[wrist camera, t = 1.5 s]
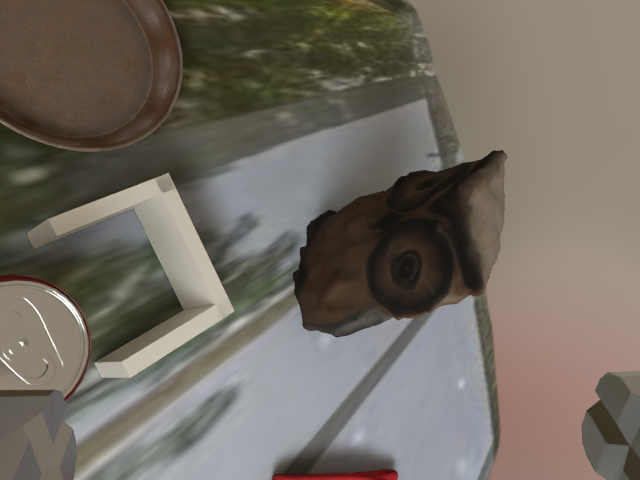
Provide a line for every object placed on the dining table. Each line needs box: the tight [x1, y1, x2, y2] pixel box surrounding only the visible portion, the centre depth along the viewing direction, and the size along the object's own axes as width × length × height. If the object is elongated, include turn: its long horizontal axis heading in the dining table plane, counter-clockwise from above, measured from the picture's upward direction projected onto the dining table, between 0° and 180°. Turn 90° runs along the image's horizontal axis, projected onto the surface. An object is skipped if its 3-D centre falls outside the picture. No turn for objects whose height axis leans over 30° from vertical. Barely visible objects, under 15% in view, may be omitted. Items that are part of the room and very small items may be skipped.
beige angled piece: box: [26, 173, 234, 378], centre depth 41 cm, size 9×11×5 cm
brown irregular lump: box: [293, 150, 507, 337], centre depth 50 cm, size 13×13×20 cm
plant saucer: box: [0, 0, 183, 152], centre depth 42 cm, size 18×18×3 cm
